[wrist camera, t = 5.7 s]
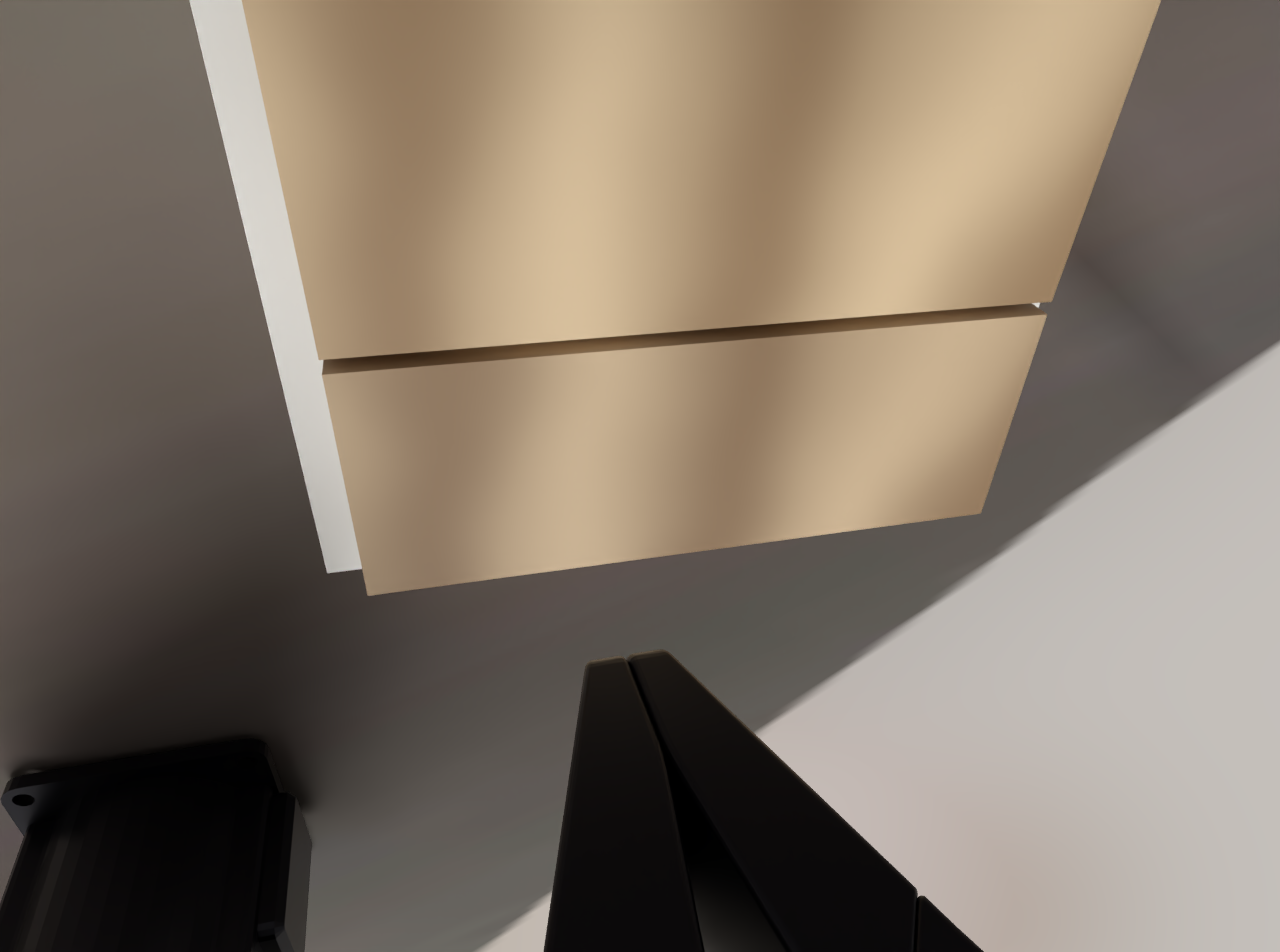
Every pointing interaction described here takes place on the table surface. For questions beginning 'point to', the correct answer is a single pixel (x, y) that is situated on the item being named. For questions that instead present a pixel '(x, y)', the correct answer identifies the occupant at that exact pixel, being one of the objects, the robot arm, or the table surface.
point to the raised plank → (680, 159)
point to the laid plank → (670, 440)
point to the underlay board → (277, 268)
